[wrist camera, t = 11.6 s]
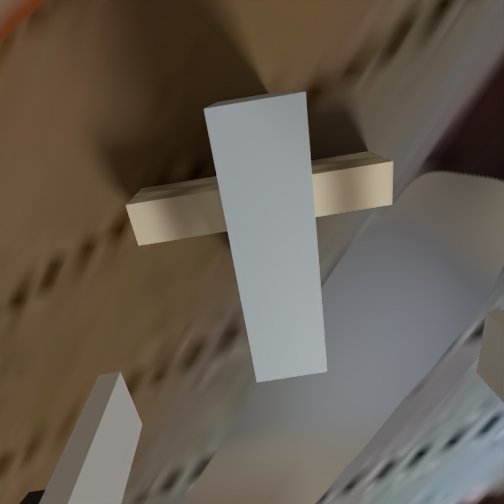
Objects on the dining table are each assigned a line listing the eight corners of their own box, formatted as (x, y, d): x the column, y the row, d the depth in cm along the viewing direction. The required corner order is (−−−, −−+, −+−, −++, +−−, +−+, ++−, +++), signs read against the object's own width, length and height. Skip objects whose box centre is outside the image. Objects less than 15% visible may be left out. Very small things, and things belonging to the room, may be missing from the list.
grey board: (288, 259, 40) (327, 371, 24) (246, 266, 41) (256, 382, 24) (268, 93, 33) (305, 91, 17) (217, 102, 33) (203, 108, 17)
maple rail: (151, 223, 38) (138, 245, 32) (141, 188, 36) (125, 205, 31) (368, 188, 37) (392, 204, 32) (368, 151, 36) (393, 161, 30)
